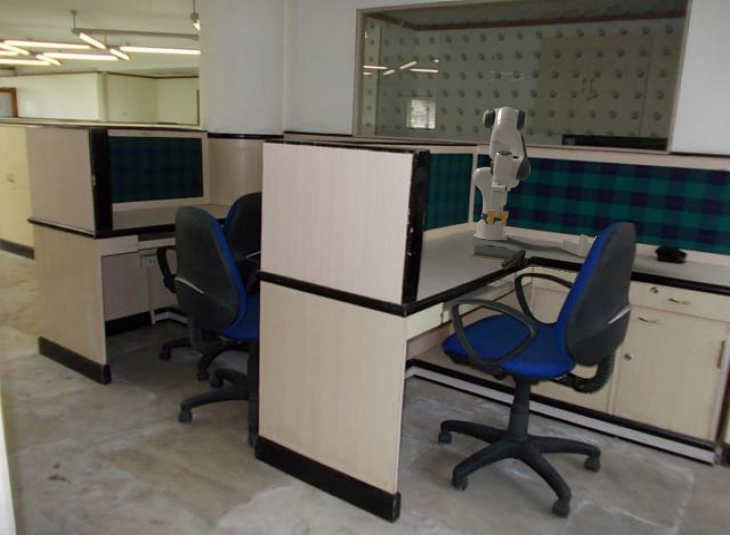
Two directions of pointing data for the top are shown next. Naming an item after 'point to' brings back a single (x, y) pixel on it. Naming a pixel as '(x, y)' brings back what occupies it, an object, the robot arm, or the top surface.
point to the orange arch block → (502, 215)
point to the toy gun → (515, 260)
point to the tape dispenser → (577, 246)
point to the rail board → (493, 251)
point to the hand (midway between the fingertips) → (497, 215)
